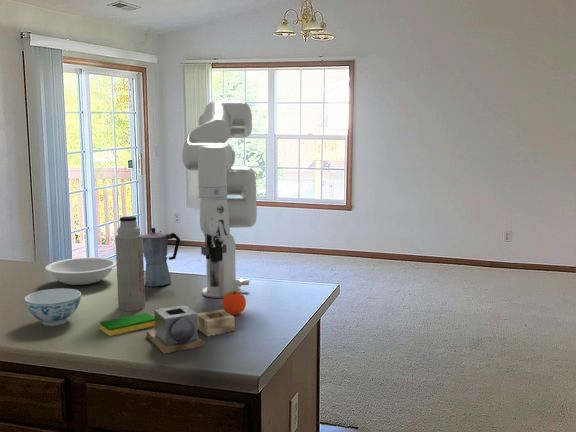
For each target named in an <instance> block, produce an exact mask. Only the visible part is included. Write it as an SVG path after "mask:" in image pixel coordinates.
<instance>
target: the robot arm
mask: <svg viewBox="0 0 576 432" xmlns="http://www.w3.org/2000/svg"><path fill="white" fill-rule="evenodd" d="M252 131H253V115H252V109H251V107H250V105H249V104H248V103H247V102H246V101H244V100H214V101H211V102H208V103H207V105H205V107H204V111H203V113H202V114H201V115H200V116H199V117H198V126H197V127H195V128H193V129H192V130H190V131H189V132H188V133H187V134H186V136H185V138H184V141H183V146H182V153H181V154H182V155H181V158H182V159H181V160H182V164H183V166H184V167H185V169H186V170H189V171H194V172H195V171H196V172H197V182H198V183H197V184H198V185H197V187H198V199H199V200H200V201H199V202H200V203H199V205H200V206H199V228H200V230H201V232H202V233H203V235H204V242H205V243H204V244H205V245H212V247H211V262H217V261H219V282H220V286H217V287H211V286H210V266H209V255H205V259H206V287H204V288H203V289H202V292H201V293H202V294H201V295H203V296H204V297H206V298H207V297H208V298H211V299H212V298H214V299H224V297H225V296H224V294H225V293H226V292H227V293H226V294H228V293H229V292H228V291H236V292H239V293H241V287H242V286H249V285H250V280H249V279H248V278H246V279H243V278H240V279H238V278H236V272H237V271H236V267H237V266H236V240H235V238H234V236H233V235H232V233H231V231H230V230H231V228H232V229H233V228H236V229H237V228H251V227H254V226H255V225H256V223H257V216H258V211H257V210H258V208H257V205H258V203H257V180H256V179H257V178H256V172H255V171H254V168H252V167H249V166H241V165H239V166H235V161H236V153H235V150H234V148H233V146H232V145H230V144H229V143H226V142H228V140H229V139H230V138H231V139H241V138H242V139H244V138H248V137H249V136H251V133H252ZM228 196H239V197H242V198H231V197H230V198H229V197H228ZM223 243H224V244H226V248H227V253H222V247H223ZM226 294H225V295H226Z"/></svg>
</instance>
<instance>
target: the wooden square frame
mask: <svg viewBox="0 0 576 432" xmlns="http://www.w3.org/2000/svg"><path fill="white" fill-rule="evenodd" d="M235 319H236V318H235V315H231V314H229V313H227V312H226V311H225V310H224V308H223V309H217V310H211V311H205V312H197V329H198V330H199V331H200V332H201V333H202V334H204V335H206V336H207V337H211V335H212V336H216V335H215V334H218V335H221V334H220V333H223V334H226V333H225V332H228V333H231V332H230V331H234V332H235V331H236V329H235V328H236V326H235V324H236V321H235Z"/></svg>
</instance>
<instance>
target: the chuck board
mask: <svg viewBox="0 0 576 432" xmlns="http://www.w3.org/2000/svg"><path fill="white" fill-rule="evenodd" d="M146 338H147V339H148V340H150V341H151V343H152V344H154V346H156V347H157V348H158V349H159V351H161V352H162V354H169V353H174V352H179V351H183V350H190V349H194V348H195V349H196V348H199V347H203V340H202V339H201V338H199V337H198V340H196V341H191V342H185V343H180V344H175V345H169V346H165V345H164V344H163V343H162V342H161V341H160V340H159V339H158V338H157V337H156V336H155V329H151V330H146Z"/></svg>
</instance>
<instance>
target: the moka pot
mask: <svg viewBox="0 0 576 432" xmlns="http://www.w3.org/2000/svg"><path fill="white" fill-rule="evenodd" d="M150 230H151V232H150V233H146V234H142V236H143V258H144V261H145V276H144V285H145V286H146V287H154V288H155V287H163V286H166V285H167V286H168V285H169V284H171V283H172V280H171V275H170V270H169V266H168V262H167V260H171V261H172V260H176V258H177V255H178V250H179V247H180V243H181V239H180V237H179V236H178V235H177V234H176V233H175V232H172V233H163V232H156V227H152V228H151V227H150ZM172 239H175V246H174V250H173V254H172V256H169V257H167V256H168V244H169V243H168V241H169V240H172Z"/></svg>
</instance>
